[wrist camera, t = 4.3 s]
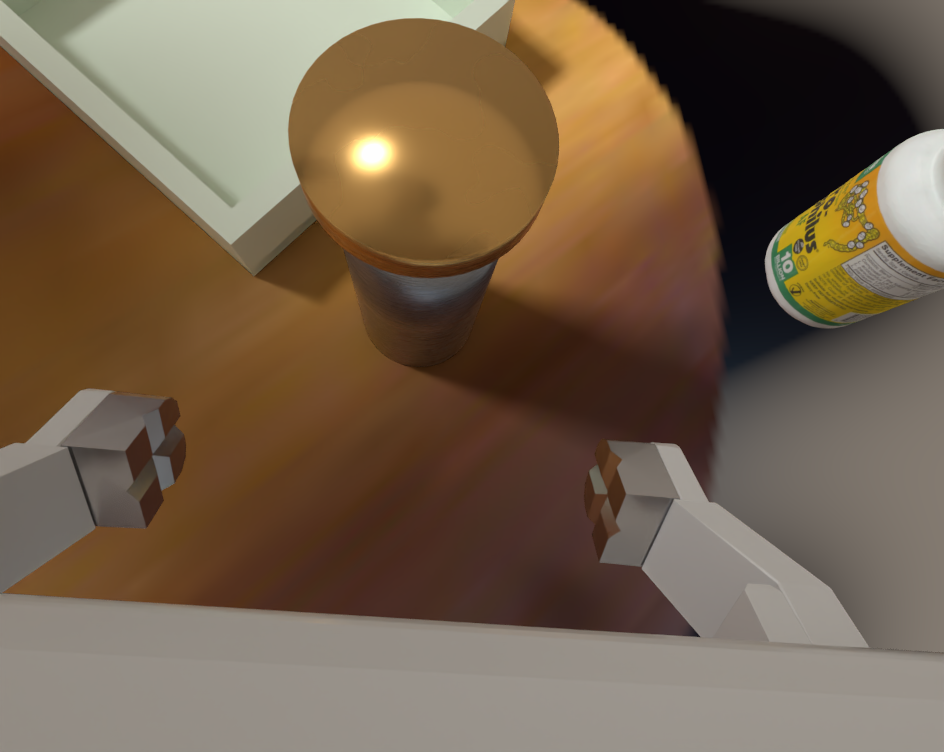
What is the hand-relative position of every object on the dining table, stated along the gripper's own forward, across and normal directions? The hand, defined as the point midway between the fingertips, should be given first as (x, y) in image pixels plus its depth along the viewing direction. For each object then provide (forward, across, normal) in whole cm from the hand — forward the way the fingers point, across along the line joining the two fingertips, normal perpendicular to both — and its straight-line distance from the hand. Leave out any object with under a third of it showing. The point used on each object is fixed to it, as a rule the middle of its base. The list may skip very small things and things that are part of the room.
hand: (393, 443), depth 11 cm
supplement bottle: (+15, -18, +1) cm, 24 cm away
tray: (+21, +8, -5) cm, 23 cm away
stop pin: (+12, 0, +3) cm, 13 cm away
